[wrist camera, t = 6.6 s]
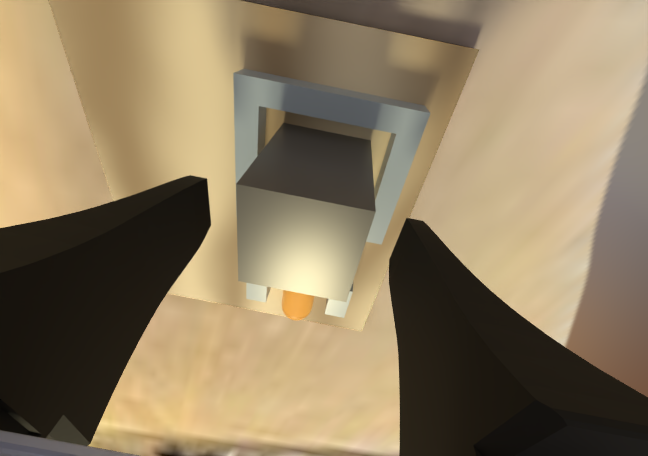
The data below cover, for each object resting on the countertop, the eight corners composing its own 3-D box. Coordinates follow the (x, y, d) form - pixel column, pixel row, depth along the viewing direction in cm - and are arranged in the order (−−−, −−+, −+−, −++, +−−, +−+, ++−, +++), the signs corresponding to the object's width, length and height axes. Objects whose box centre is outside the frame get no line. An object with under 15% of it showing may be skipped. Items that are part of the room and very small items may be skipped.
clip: (256, 274, 19) (246, 298, 17) (257, 247, 17) (246, 270, 16) (345, 292, 19) (344, 317, 17) (353, 266, 18) (353, 291, 16)
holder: (244, 203, 16) (236, 215, 15) (244, 68, 12) (233, 73, 11) (380, 230, 16) (381, 244, 15) (424, 105, 12) (430, 112, 11)
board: (144, 284, 21) (141, 288, 21) (44, -41, 11) (34, -42, 10) (361, 327, 22) (361, 331, 21) (475, 49, 11) (479, 49, 11)
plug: (270, 296, 20) (240, 384, 15) (283, 122, 13) (235, 184, 8) (326, 307, 20) (314, 398, 15) (370, 140, 13) (375, 211, 8)
